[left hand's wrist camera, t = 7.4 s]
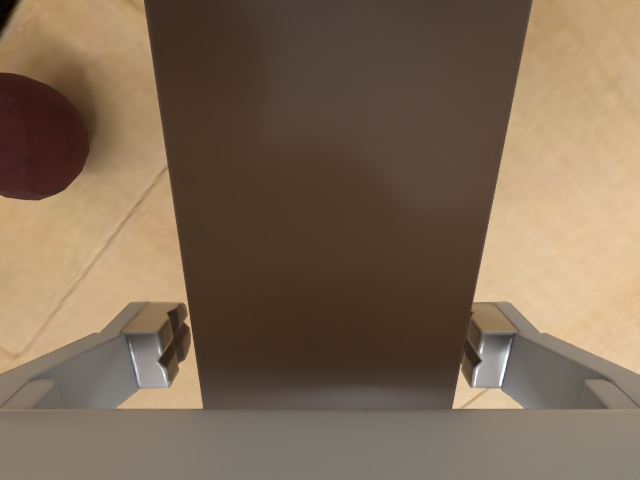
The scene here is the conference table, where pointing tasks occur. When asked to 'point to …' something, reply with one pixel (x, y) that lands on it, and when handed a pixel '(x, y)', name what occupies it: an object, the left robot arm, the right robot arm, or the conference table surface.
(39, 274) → the conference table surface
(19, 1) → the conference table surface
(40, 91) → the dark red rounded ball
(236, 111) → the box
